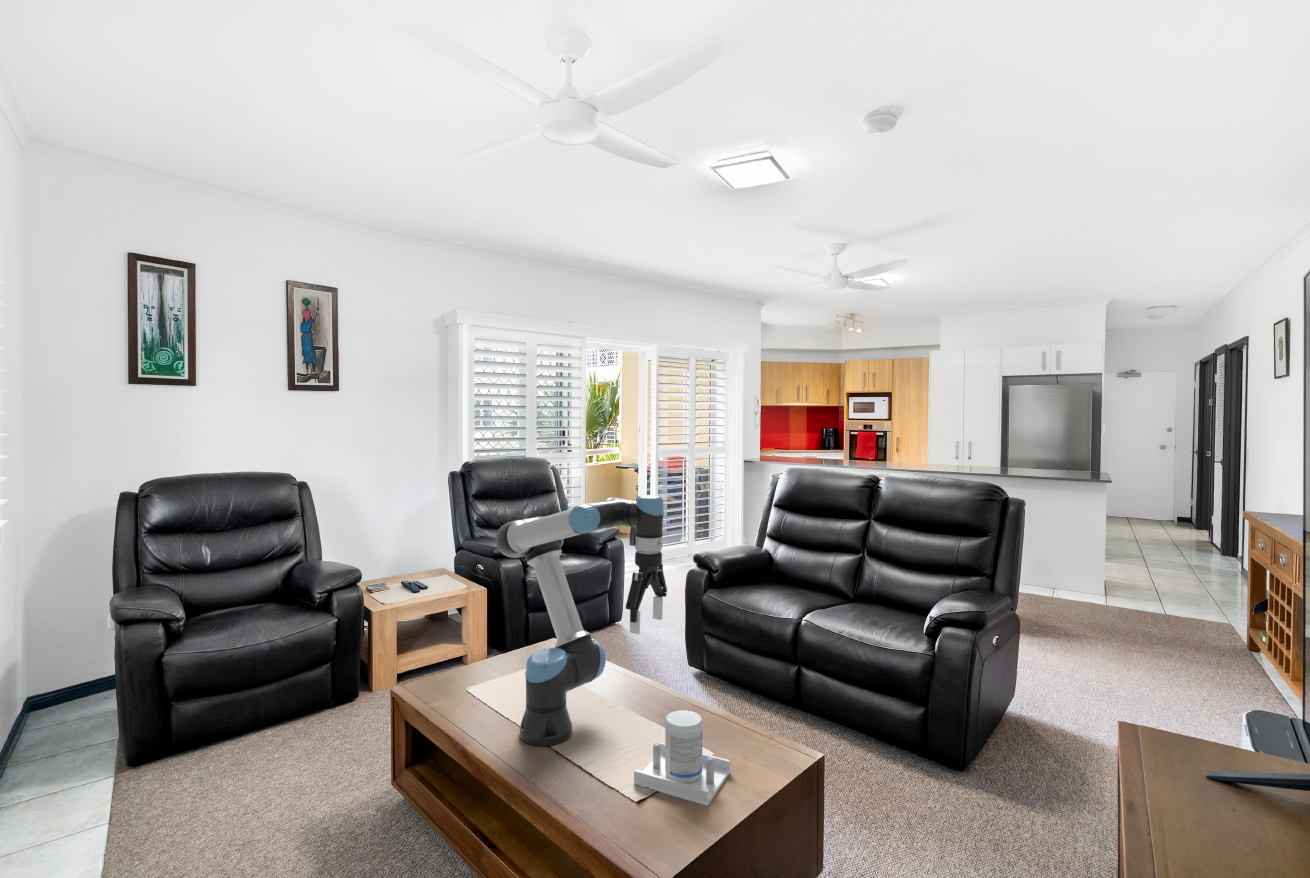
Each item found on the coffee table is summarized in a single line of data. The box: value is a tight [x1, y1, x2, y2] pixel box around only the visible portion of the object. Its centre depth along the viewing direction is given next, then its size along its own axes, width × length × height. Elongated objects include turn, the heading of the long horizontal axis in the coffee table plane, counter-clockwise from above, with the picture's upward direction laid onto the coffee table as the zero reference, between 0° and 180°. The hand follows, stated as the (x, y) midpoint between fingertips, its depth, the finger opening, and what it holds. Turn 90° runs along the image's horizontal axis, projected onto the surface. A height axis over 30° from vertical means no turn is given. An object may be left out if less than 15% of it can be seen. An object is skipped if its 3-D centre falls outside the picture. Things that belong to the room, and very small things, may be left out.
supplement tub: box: [664, 709, 703, 783], centre depth 166 cm, size 10×10×15 cm
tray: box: [633, 742, 731, 807], centre depth 166 cm, size 20×16×7 cm
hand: (646, 625), depth 181 cm, fingers open, 13 cm apart
